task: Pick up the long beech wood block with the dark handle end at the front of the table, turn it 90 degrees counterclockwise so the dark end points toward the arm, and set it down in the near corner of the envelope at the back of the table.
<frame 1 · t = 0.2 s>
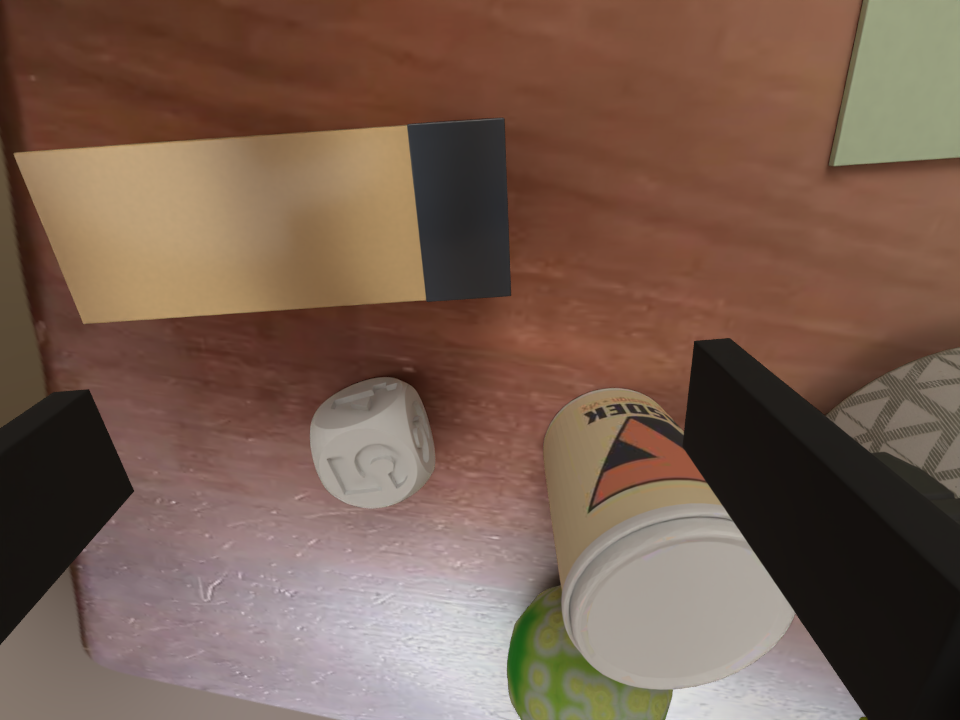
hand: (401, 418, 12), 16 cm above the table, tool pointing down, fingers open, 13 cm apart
die: (382, 414, 30), on the table
decorative ball: (569, 597, 37), on the table
planter: (888, 461, 33), on the table
beech block: (325, 200, 25), on the table
coffee cup: (605, 441, 31), on the table
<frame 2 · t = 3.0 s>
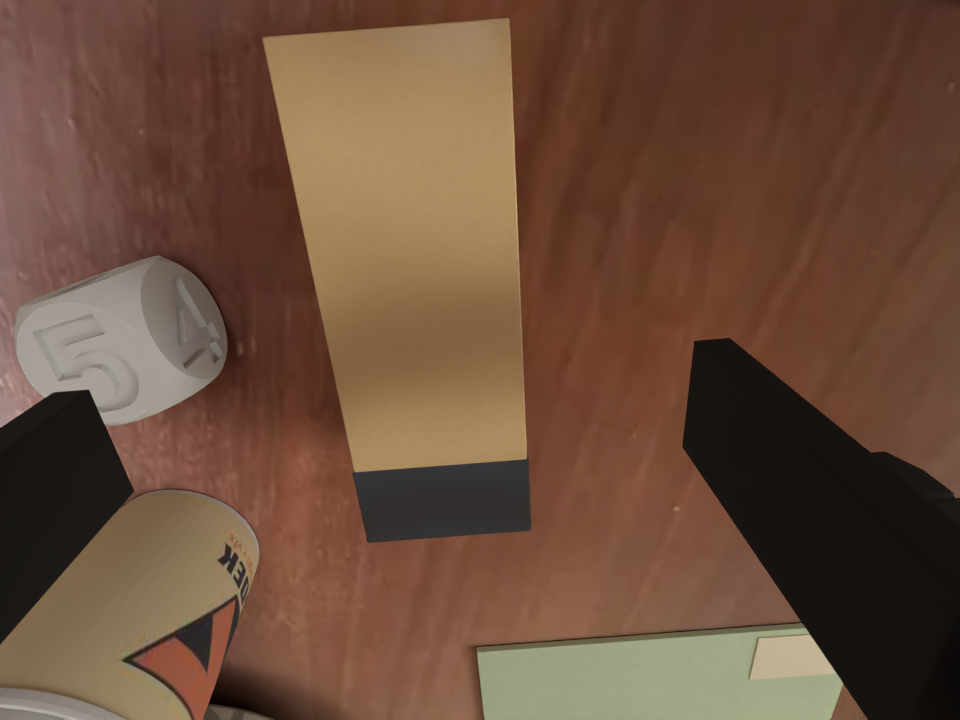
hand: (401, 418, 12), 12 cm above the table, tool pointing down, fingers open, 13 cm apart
envelope: (659, 702, 35), on the table
die: (166, 314, 23), on the table
beech block: (435, 273, 22), on the table
coffee cup: (190, 541, 28), on the table
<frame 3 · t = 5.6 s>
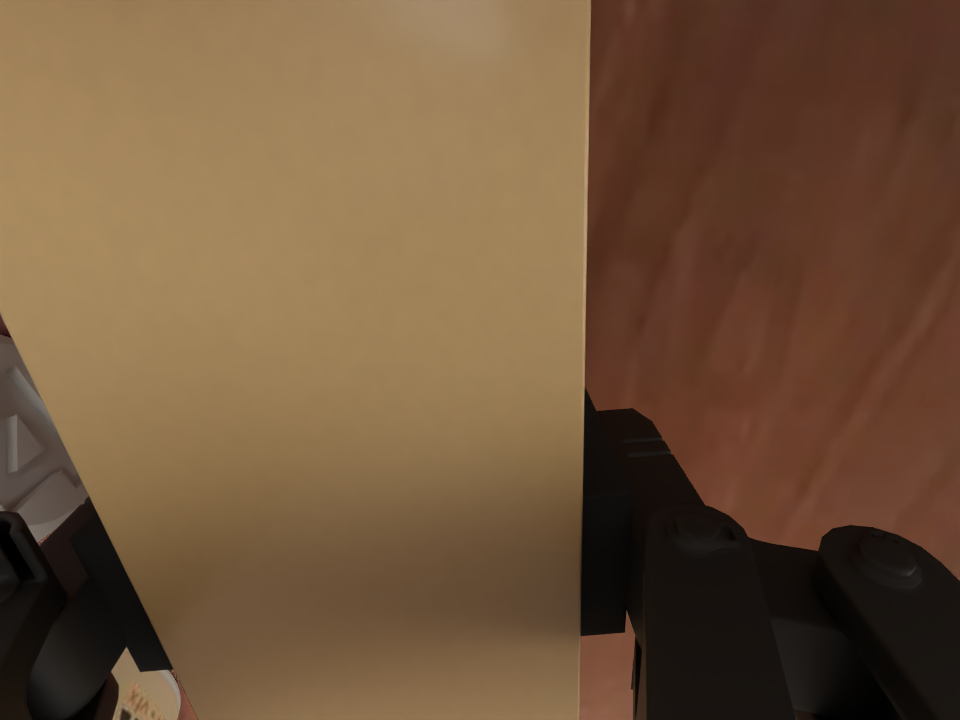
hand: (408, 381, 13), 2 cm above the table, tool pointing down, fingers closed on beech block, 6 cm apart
die: (19, 406, 16), on the table
beech block: (409, 374, 13), point 2 cm above the table, touching gripper
coffee cup: (87, 685, 21), on the table
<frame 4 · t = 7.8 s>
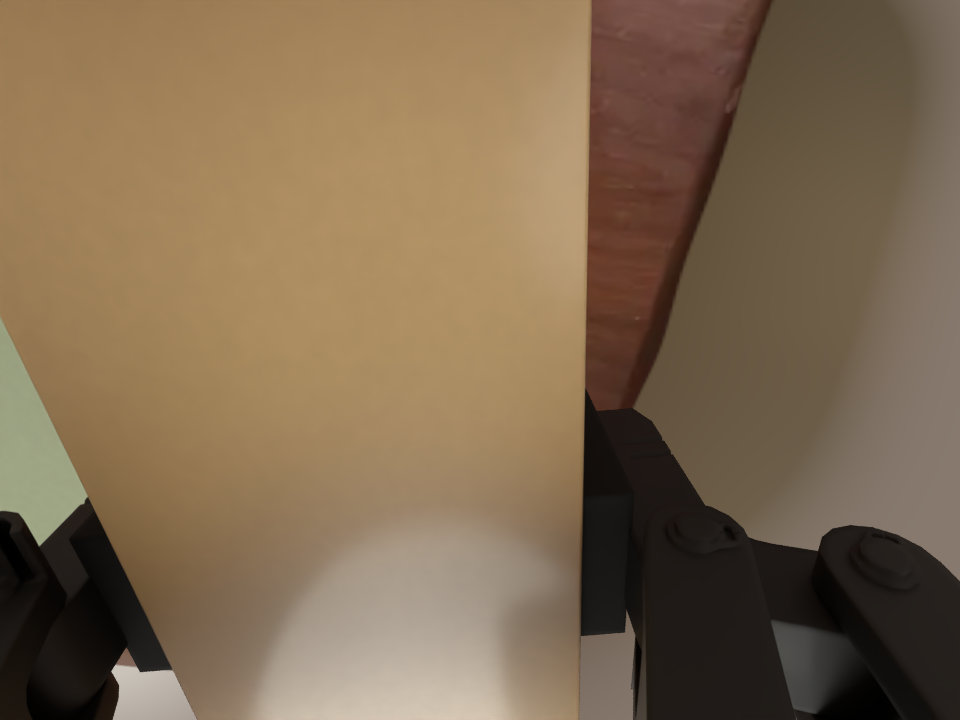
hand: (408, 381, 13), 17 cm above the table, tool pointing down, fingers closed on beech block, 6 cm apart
beech block: (409, 374, 13), point 17 cm above the table, touching gripper
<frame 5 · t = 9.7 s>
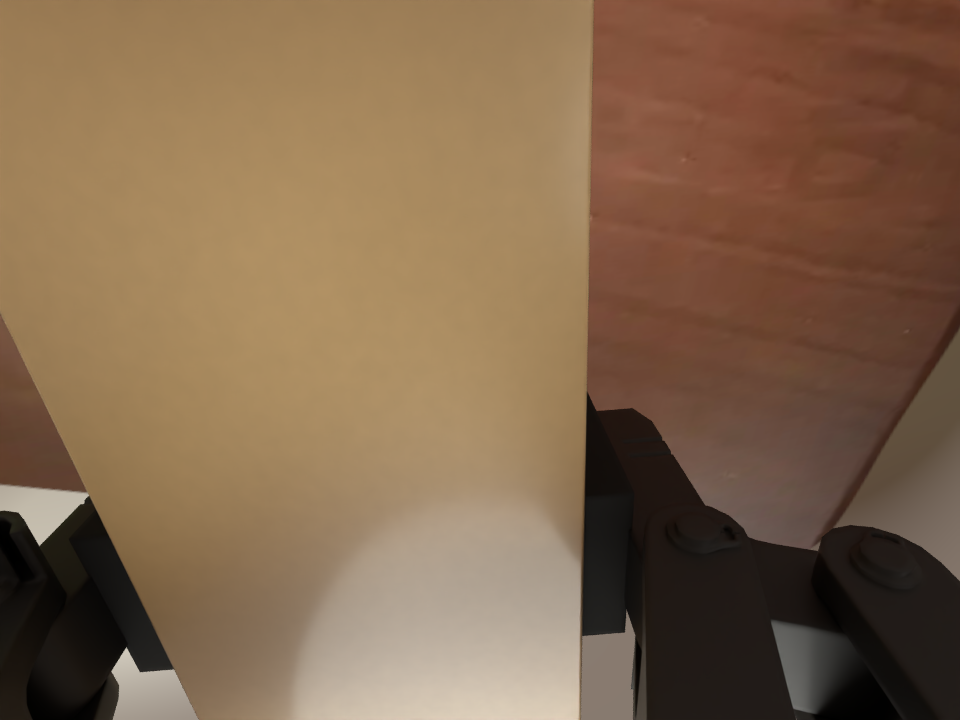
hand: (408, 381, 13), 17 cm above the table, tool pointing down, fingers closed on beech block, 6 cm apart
beech block: (409, 373, 13), point 17 cm above the table, touching gripper
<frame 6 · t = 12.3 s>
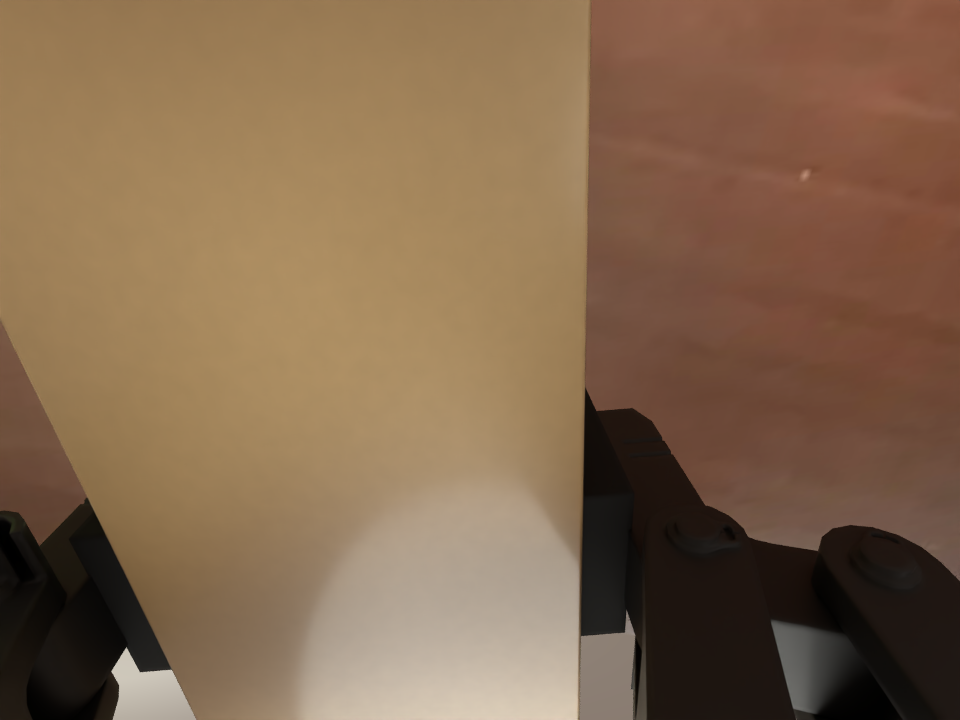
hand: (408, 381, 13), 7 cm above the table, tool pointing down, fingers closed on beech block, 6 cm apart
beech block: (409, 374, 13), point 7 cm above the table, touching gripper
when the fingers open (1 cm above the table, at t = 14.0 s): beech block stays where it is, resting on envelope.
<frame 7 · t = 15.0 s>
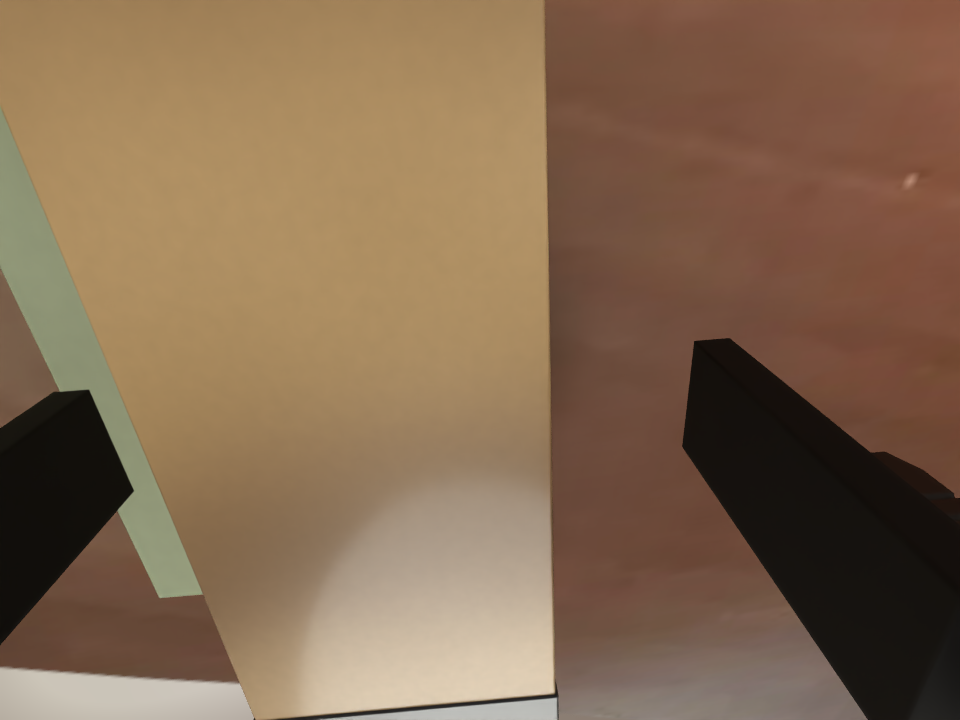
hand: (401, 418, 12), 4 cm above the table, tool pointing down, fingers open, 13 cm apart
envelope: (278, 245, 14), on the table
beech block: (404, 343, 15), resting on envelope
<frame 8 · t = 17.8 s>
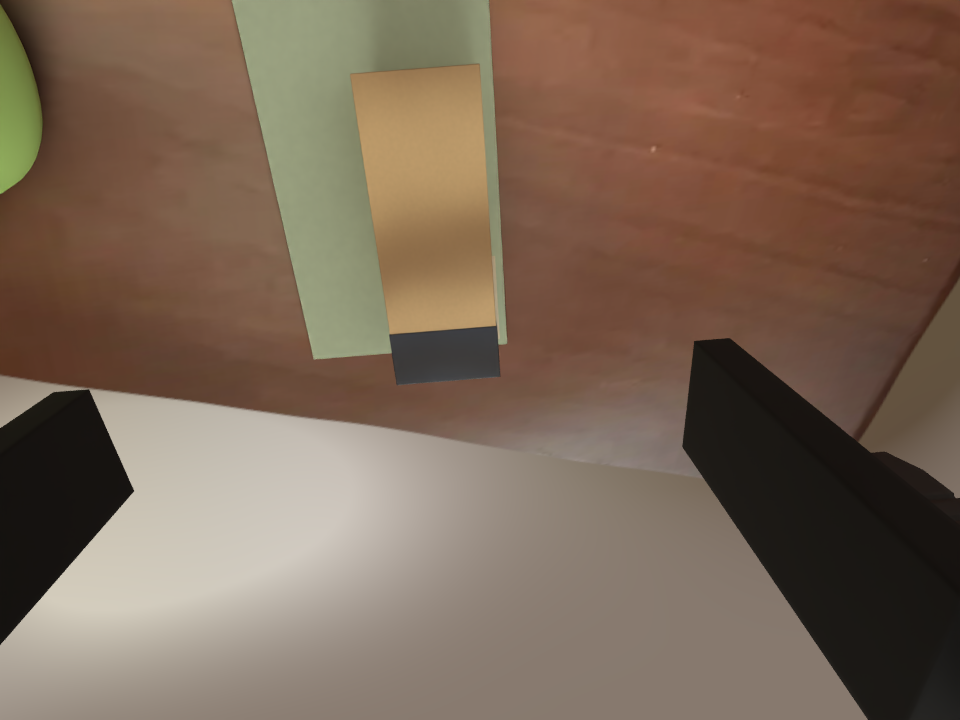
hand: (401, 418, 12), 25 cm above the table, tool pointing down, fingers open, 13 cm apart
envelope: (386, 176, 33), on the table
beech block: (438, 220, 33), resting on envelope
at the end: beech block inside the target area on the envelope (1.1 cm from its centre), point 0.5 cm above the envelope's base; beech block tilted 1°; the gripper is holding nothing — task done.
